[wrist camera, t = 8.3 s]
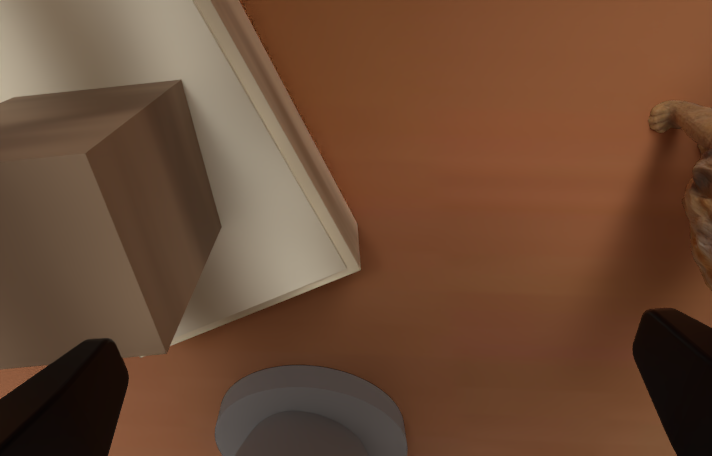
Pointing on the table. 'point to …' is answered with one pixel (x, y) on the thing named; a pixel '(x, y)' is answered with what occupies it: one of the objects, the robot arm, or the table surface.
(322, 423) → the vase
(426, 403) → the table surface
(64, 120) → the grey-brown block
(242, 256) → the cream flat block
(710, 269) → the lion figurine
